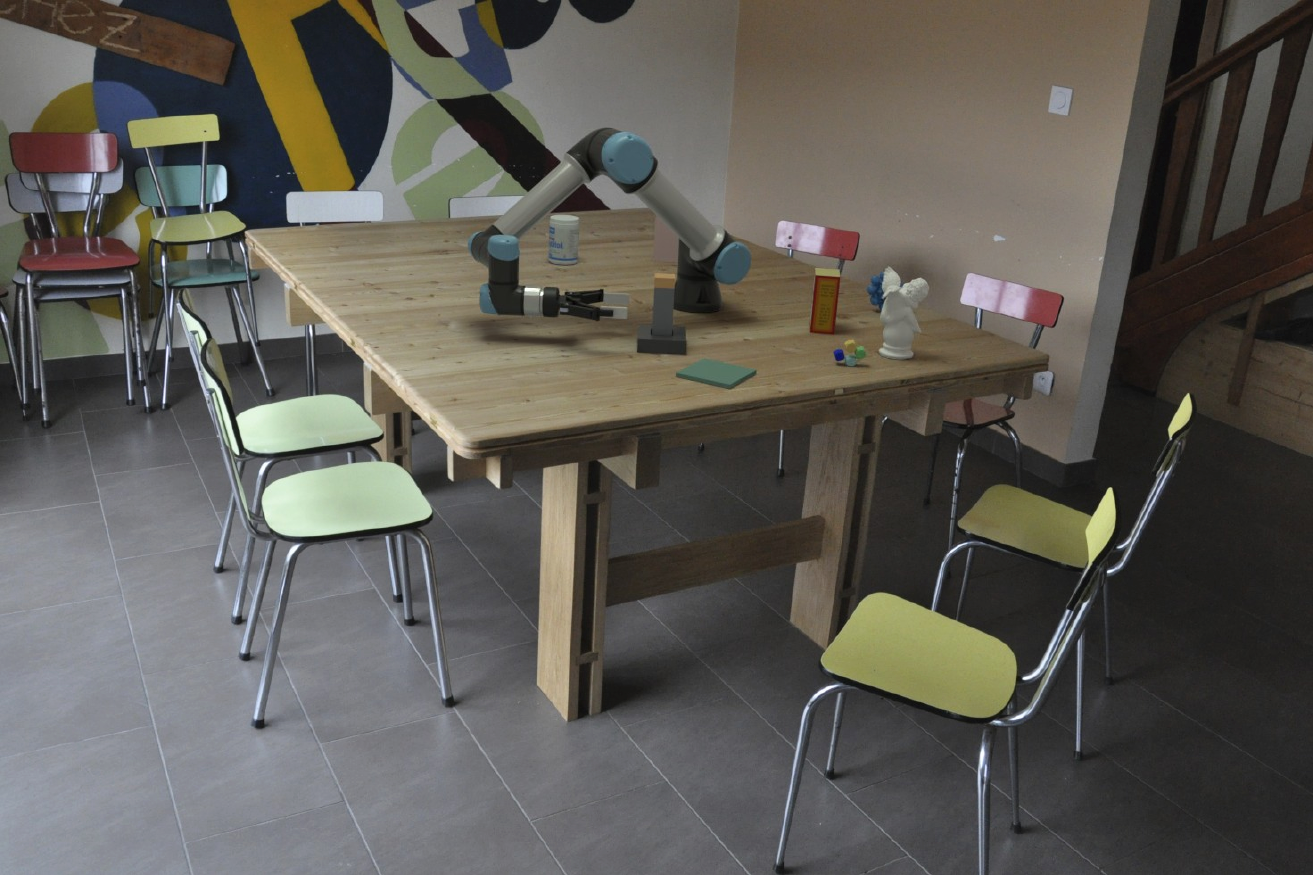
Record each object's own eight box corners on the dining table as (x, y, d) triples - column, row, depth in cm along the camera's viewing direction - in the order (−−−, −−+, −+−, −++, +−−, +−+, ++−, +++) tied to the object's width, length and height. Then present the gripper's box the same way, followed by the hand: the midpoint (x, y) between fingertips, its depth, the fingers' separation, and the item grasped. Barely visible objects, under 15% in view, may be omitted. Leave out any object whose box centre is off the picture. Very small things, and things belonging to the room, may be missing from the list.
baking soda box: (809, 323, 307) (815, 266, 301) (833, 325, 306) (839, 267, 300) (809, 332, 298) (815, 274, 292) (834, 334, 298) (840, 275, 292)
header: (638, 337, 286) (638, 324, 285) (684, 339, 286) (685, 326, 285) (636, 352, 274) (637, 338, 273) (685, 354, 274) (686, 341, 273)
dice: (832, 365, 272) (835, 340, 269) (831, 362, 274) (834, 337, 272) (865, 367, 272) (868, 342, 269) (864, 364, 274) (867, 339, 272)
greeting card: (688, 262, 371) (691, 217, 365) (677, 266, 365) (680, 220, 359) (659, 257, 376) (661, 212, 371) (647, 260, 370) (649, 215, 365)
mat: (704, 362, 269) (704, 358, 269) (756, 373, 263) (756, 369, 262) (675, 376, 258) (676, 372, 257) (729, 389, 251) (729, 384, 251)
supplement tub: (543, 263, 359) (543, 217, 354) (557, 257, 368) (558, 213, 362) (569, 267, 356) (570, 221, 350) (583, 261, 364) (584, 216, 358)
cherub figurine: (923, 357, 282) (937, 272, 274) (898, 367, 274) (911, 279, 265) (882, 345, 290) (894, 262, 281) (856, 354, 281) (868, 269, 273)
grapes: (866, 315, 318) (871, 273, 314) (862, 308, 324) (867, 268, 320) (907, 317, 318) (912, 275, 314) (902, 310, 324) (908, 270, 320)
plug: (651, 342, 282) (654, 272, 276) (671, 343, 282) (675, 273, 276) (651, 348, 278) (654, 277, 271) (671, 349, 278) (675, 278, 271)
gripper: (547, 303, 289) (629, 307, 289) (537, 330, 266) (625, 334, 266) (548, 275, 286) (630, 279, 287) (537, 299, 263) (626, 304, 263)
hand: (628, 306), depth 276 cm, fingers open, 13 cm apart
